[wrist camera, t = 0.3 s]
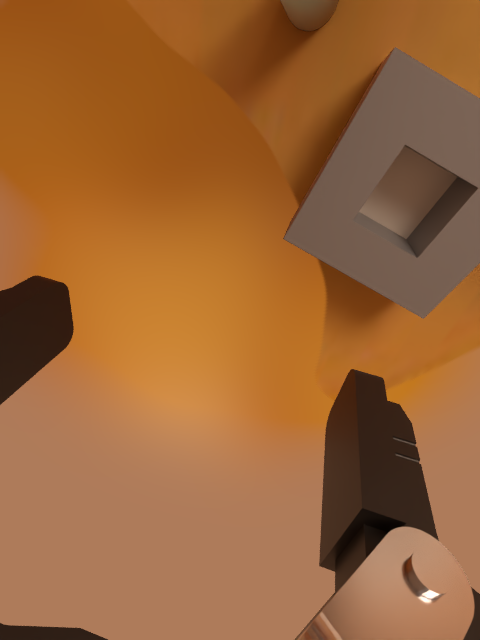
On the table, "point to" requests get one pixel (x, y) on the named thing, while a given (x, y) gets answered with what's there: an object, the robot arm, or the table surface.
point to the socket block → (400, 189)
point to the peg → (309, 12)
